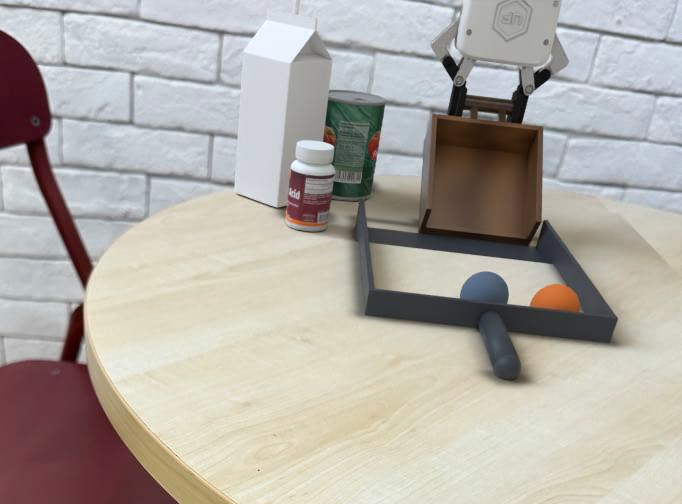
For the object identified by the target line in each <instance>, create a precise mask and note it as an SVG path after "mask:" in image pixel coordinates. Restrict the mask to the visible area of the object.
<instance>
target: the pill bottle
mask: <svg viewBox="0 0 682 504" xmlns="http://www.w3.org/2000/svg"><path fill="white" fill-rule="evenodd" d="M295 154H296V158H297V160H295V161H294V162H293V163H292V165H291V170H290V179H289V189H288V199H287V206H286V211H285V218H284V221H285V224H286V225H287V226H288V228H289V227H290V228H291V229H294V230H298V231H303V232H309V233H310V232H313V233H315V232H322V231H324V230H326V229H327V228H328V225H329V220H330V219H329V218H330V210H331V203H332V199H331V197H332V190H333V182H334V175H335V169H334V167H333V165H332V164H331V162H332V161H333V156H334V146H333V145H331V144H328V143H325V142H320V141H312V140H303V141H299V142H297V145H296V153H295Z"/></svg>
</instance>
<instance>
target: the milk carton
mask: <svg viewBox="0 0 682 504" xmlns="http://www.w3.org/2000/svg"><path fill="white" fill-rule="evenodd" d="M317 25H318V18H317V17H311V16H307V15H302V14H298V13H292V12H287V11H282V10H277V9H272V8H267V9H266V20H265V21H264V23H263V24H262V26H260V28H259V29H258V31H256V33H255V35H254V36H253V37H252V38H251V40H249V42H248V43H247V45H246V46H245V48H244V49H243V50H242V65H241V80H240V95H239V109H238V110H239V112H238V126H237V128H238V129H237V142H236V155H235V156H236V158H235V170H234V171H235V173H234V174H235V175H234V187H233V191H234V193H235V194H237V195H240V196H243V197H245V198H249V199H251V200H254V201H257V202H260V203H263V204H265V205H268V206H271V207H274V208H281V207H287V199H288V189H289V179H290V170H291V165H292V163H293V162H294V161H295V160H297V158H296V154H295V153H296V145H297V142H299V141H303V140H312V141H320V142H323V136H324V128H325V120H326V111H327V103H328V95H329V90H330V85H331V78H332V77H331V76H332V70H333V69H332V68H333V58H332V56H331V55H330V53H329V51H328V49H327V47H326V46H325V44H324V41H323V40H322V38H321V36H320V35H319V33H318V31H317V27H318V26H317Z"/></svg>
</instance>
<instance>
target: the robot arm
mask: <svg viewBox="0 0 682 504" xmlns="http://www.w3.org/2000/svg"><path fill="white" fill-rule="evenodd" d="M562 2H563V0H462V4H461V8H460V11H459V15H458V16H457V18H455V19H454V20H453V21H452V22H451V23H450V24H449V25H447V26H446V27H445V28H444V29H443V30H442V31H441V32H440V33H439V34H438V35H436V36H435V37H434V38H433V39H432V40H431V42H430V48H431V49H432V51H433V53H434V55H435V56H436V57H437V59H438V60H439V62H440V63H441V65H442V66H443V68H444V70H445V71H446V73H447V74H448V76H449V78H450V79H451V81H452V88H451V92H450V97H449V102H448V107H447V114H446V115H450V116H458V117H463V114H464V110H463V109H464V104H465V99H466V95H467V94H468V87H467V86H466V85H467V79H468V77H469V75H470V73H471V71H472V70H473V68H474V66H475V65H476V63H477V61H480V62H486V63H494V64H501V65H509V66H517V74H518V85H517V87H516V89H515V90H514V91H512V95H511V98H510V100H514V109H513V112H512V115H511V116H508V115H506V122H508V123H517V124H523V122H524V118H525V113H526V111H527V110H526V109H527V106H528V102H529V98H530V96H531V95H533V94H534V92H535V91H536V90H538V89H539V88H540V87H541V86H543V85H544V84H545V83H546V82H548V81H549V80H550V78H553V76H556V75H557V74H558V73H559V72H561V71H563V70H564V69H565V68H567V67H568V66H569V62H570V60H569V58H568V56H567V54H566V52H565V49H564V47H563V45H562V43H561V41H560V39H559V37H558V35H557V33H556V32H557V27H558V23H559V17H560V14H561V13H560V12H561V7H562ZM453 40H454V44H453V45H454V47H455V49H456V50H457V51H458V53H459V54H460V55H461V57H460V59H459V61H458V63H456V61H455V59H454V58H453V56H452V55H451V54H450V52H449V50H448V45H449V44H450V43H451V42H452V41H453ZM550 57H551V58H550ZM549 59H550V61H548V60H549ZM543 65H544V66H543ZM541 66H542V67H541ZM537 67H540V68H538V69H537V70H536V71H534V68H537Z"/></svg>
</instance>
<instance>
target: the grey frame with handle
mask: <svg viewBox="0 0 682 504" xmlns="http://www.w3.org/2000/svg"><path fill="white" fill-rule="evenodd" d="M367 221H368V220H367V212H366V205H365V200H364V199H363V198H360V199H359V201H358V206H357V212H356V218H355V226H354V231H355V232H354V233H355V242H358V254H359V263H360V275H361V285H362V297H363V298H362V299H363V310H364V316H368V317H377V318H385V319H394V320H403V321H411V322H420V323H427V324H437V325H446V326H455V327H464V328H473V329H479V332H480V335H481V337H482V340H483V343H484V346H485V349H486V351H487V352H486V353H487V354H488V357H489V360H490V363H491V365H492V369H493V371H494V374H495V375H496V376H497V377H498V378H500V379H502V380H507V381H510V380H511V381H512V380H514V379H516V378H518V376H519V375H520V374H521V371H522V362H521V359H520V357H519V354H518V352H517V350H516V348H515V345H514V343H513V341H512V338H511V336H510V334H509V333H515V334H516V333H517V334H523V335H532V336H533V335H534V336H541V337H542V336H543V337H551V338H558V339H568V340H575V341H577V340H578V341H585V342H594V343H603V344H610V343H611V341H612V337H613V335H614V333H615V330H616V326H617V323H618V320H619V318H618V316H617V315H616V313H615V312H614V311H613V309H612V308H611V306H610V305H609V304H608V302H607V301H606V300H605V298H604V297H603V295H602V294H601V292H600V291H599V290H598V289H597V287H596V286H595V284H594V283H593V281H592V280H591V278H590V277H589V275H588V274H587V273H586V272H585V270H584V269H583V267H582V266H581V264H580V263H579V262H578V260H577V259H576V258H575V256H574V255H573V254H572V251H570V249H569V248H568V246H567V245H566V244H565V242H564V240H563V239H562V238H561V236H560V235H559V234H558V232H557V231H556V230H555V228H554V227H553V225H552V224H551V223H550V221H549V220H548V219H542V223H541V226H540V230H539V234H538V237H537V238H538V239H537V241H536V245H535V246H532V245H529V246H525V245H516V244H508V243H499V242H490V241H482V240H473V239H465V238H456V237H448V236H439V235H430V234H422V233H418V232H412V231H404V230H395V229H388V228H378V227H370V226H368V222H367ZM370 244H374V245H375V244H376V245H384V246H392V247H393V246H394V247H402V248H409V249H420V250H427V251H436V252H444V253H445V252H446V253H454V254H461V255H462V254H463V255H471V256H477V257H478V256H480V257H488V258H496V259H505V260H513V261H520V262H521V261H522V262H531V263H540V264H547V265H553V267H554V268H555V269H556V271H557V272H558V274H559V275H560V277H561V278H562V280H563V281H564V283H565V284H566V286H568V287H569V288H571V289H572V290H573V291H574V292H575V293H576V295H577V296H578V299H579V302H580V309H581V310H582V311H583V312H581V311H580V312H574V311H565V310H556V309H548V308H539V307H530V305H523V304H522V305H521V304H513V303H512V304H511V303H507V304H504V303H496V302H487V301H478V300H470V299H461V298H460V297H451V296H444V295H443V296H442V295H434V294H427V293H426V294H425V293H416V292H408V291H401V290H400V291H399V290H391V289H384V288H383V289H382V288H375V280H374V271H373V264H372V255H371V247H370Z"/></svg>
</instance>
